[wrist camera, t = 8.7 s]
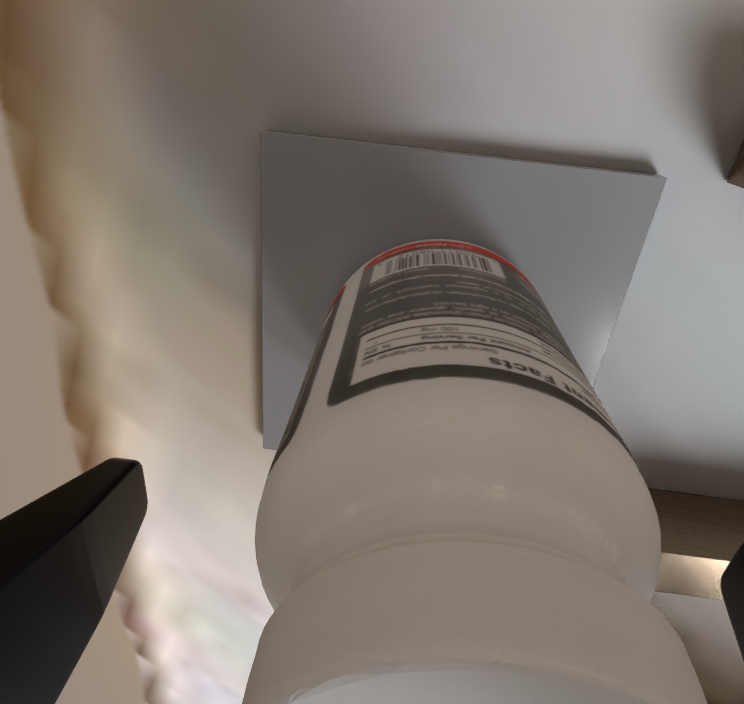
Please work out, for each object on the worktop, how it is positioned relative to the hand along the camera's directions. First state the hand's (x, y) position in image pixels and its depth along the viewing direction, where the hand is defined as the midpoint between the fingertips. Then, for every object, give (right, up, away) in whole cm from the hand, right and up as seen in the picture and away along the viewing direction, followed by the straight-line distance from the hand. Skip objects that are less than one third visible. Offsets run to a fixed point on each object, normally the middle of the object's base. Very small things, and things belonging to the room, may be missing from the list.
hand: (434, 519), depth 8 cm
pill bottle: (+1, +3, +6) cm, 7 cm away
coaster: (+1, +3, +6) cm, 7 cm away
